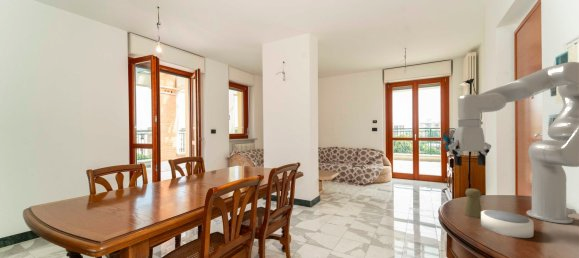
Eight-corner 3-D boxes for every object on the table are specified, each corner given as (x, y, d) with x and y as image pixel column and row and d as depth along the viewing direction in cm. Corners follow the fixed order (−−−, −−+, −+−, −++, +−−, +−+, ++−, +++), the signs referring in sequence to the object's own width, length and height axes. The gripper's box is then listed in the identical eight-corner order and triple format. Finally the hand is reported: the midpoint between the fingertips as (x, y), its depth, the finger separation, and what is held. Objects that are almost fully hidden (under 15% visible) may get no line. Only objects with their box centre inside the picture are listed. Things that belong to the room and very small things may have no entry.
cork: (477, 213, 102) (477, 187, 102) (485, 218, 96) (485, 191, 96) (461, 212, 103) (461, 186, 103) (468, 217, 97) (468, 190, 97)
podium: (505, 221, 93) (504, 208, 93) (545, 237, 79) (545, 222, 79) (471, 222, 92) (471, 209, 92) (506, 238, 78) (506, 224, 78)
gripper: (482, 124, 103) (483, 163, 103) (442, 124, 103) (443, 164, 103) (497, 123, 95) (498, 166, 95) (454, 124, 95) (455, 167, 95)
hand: (469, 165), depth 99 cm, fingers open, 9 cm apart
